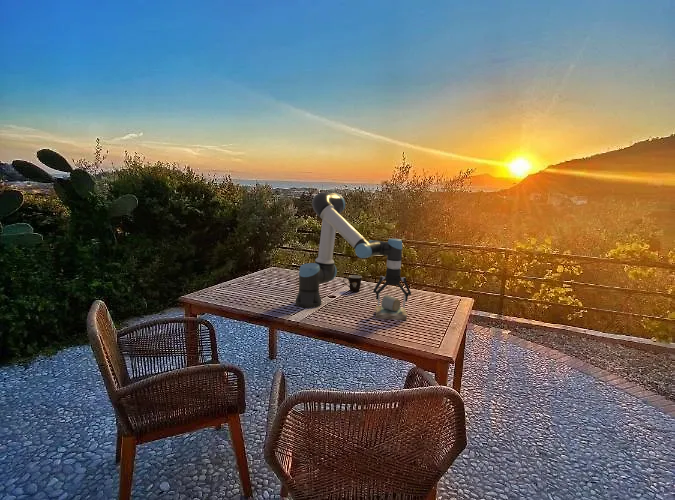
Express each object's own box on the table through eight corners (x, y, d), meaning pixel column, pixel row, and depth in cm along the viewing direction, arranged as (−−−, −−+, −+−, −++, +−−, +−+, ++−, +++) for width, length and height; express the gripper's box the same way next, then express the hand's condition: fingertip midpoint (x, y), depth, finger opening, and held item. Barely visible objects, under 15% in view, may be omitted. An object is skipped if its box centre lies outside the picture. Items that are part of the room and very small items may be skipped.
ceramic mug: (393, 313, 198) (394, 299, 197) (380, 309, 203) (381, 295, 202) (404, 309, 206) (405, 295, 205) (391, 306, 211) (392, 292, 210)
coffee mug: (363, 290, 253) (364, 276, 251) (357, 293, 245) (357, 278, 244) (348, 288, 259) (349, 273, 257) (342, 290, 252) (342, 276, 250)
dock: (375, 318, 199) (376, 312, 198) (375, 311, 210) (376, 305, 210) (406, 320, 197) (406, 314, 197) (404, 313, 209) (404, 307, 209)
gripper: (370, 267, 197) (368, 306, 200) (418, 270, 195) (415, 309, 198) (370, 265, 204) (368, 302, 208) (416, 267, 202) (413, 305, 206)
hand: (391, 306), depth 203 cm, fingers open, 13 cm apart
